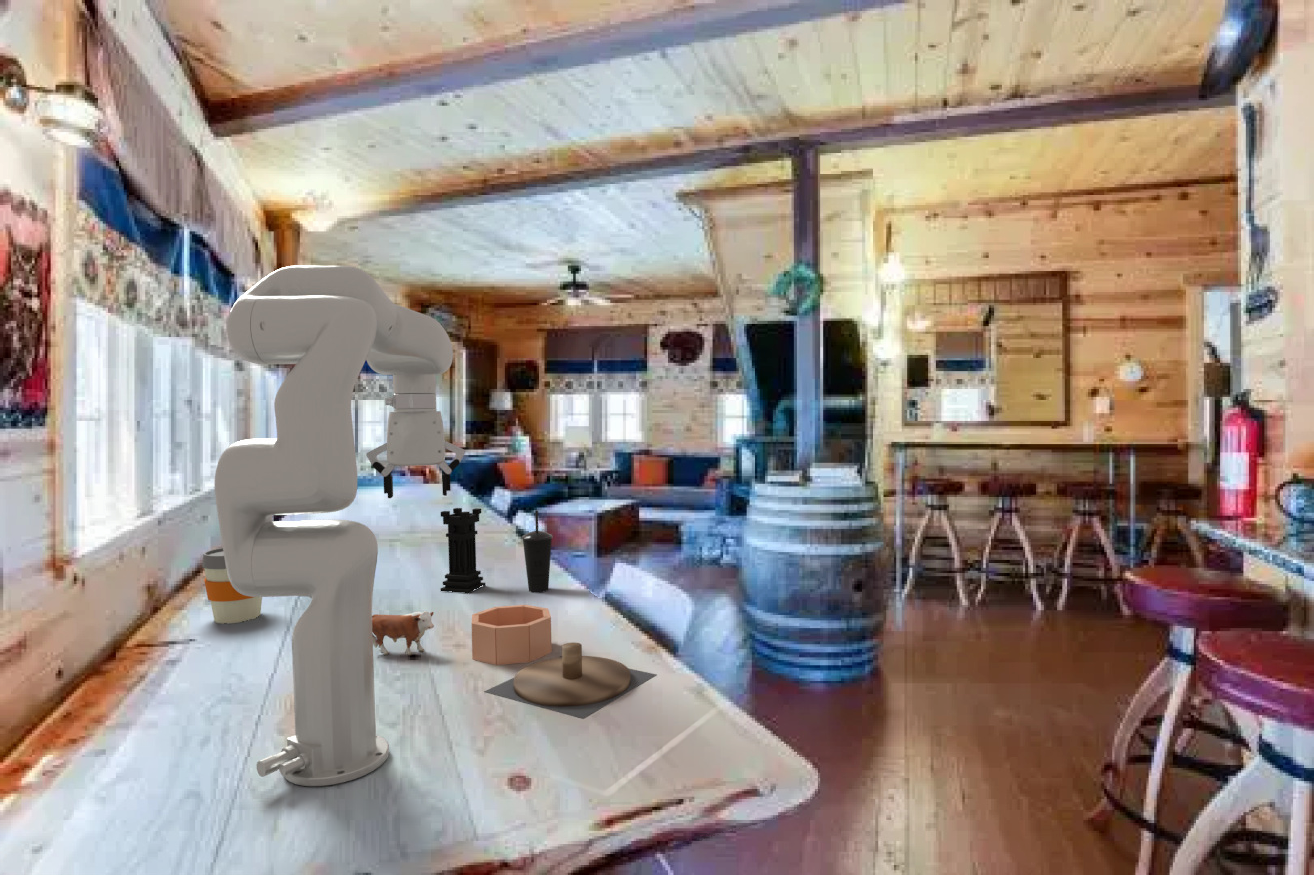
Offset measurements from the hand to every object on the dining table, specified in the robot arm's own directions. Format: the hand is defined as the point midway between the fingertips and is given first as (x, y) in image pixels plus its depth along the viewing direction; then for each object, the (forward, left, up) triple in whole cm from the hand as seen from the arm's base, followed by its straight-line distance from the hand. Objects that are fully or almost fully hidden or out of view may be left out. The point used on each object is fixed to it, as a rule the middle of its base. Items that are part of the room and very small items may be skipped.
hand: (417, 496), depth 137 cm
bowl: (+8, -15, -30) cm, 34 cm away
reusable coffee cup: (-5, +55, -30) cm, 63 cm away
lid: (+1, -35, -29) cm, 45 cm away
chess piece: (+38, +30, -30) cm, 57 cm away
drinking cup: (+46, +12, -30) cm, 56 cm away
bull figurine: (-2, +3, -30) cm, 30 cm away
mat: (+1, -35, -30) cm, 46 cm away
